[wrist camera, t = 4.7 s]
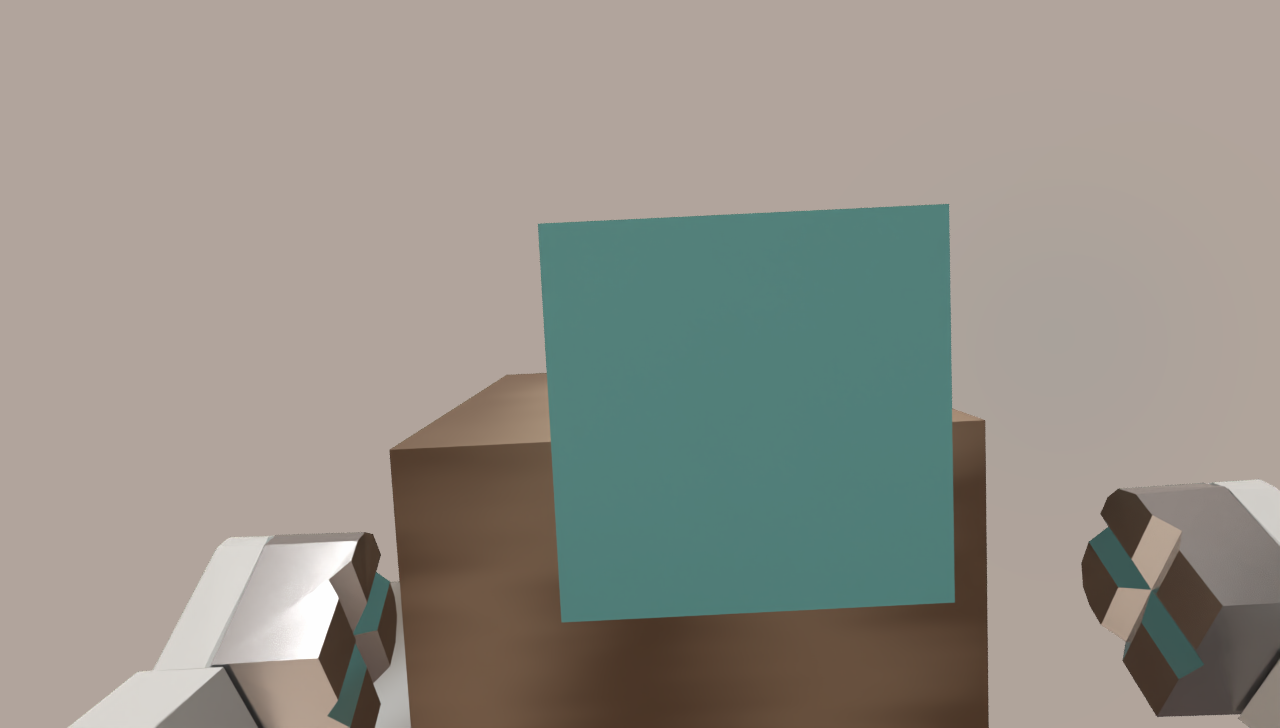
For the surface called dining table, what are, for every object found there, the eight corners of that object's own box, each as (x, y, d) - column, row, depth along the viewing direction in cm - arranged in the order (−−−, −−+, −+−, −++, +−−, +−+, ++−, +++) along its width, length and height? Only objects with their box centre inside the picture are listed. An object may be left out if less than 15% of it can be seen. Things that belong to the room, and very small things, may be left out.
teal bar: (706, 365, 31) (702, 274, 31) (955, 602, 7) (949, 204, 7) (616, 369, 31) (611, 278, 31) (562, 622, 7) (537, 223, 7)
